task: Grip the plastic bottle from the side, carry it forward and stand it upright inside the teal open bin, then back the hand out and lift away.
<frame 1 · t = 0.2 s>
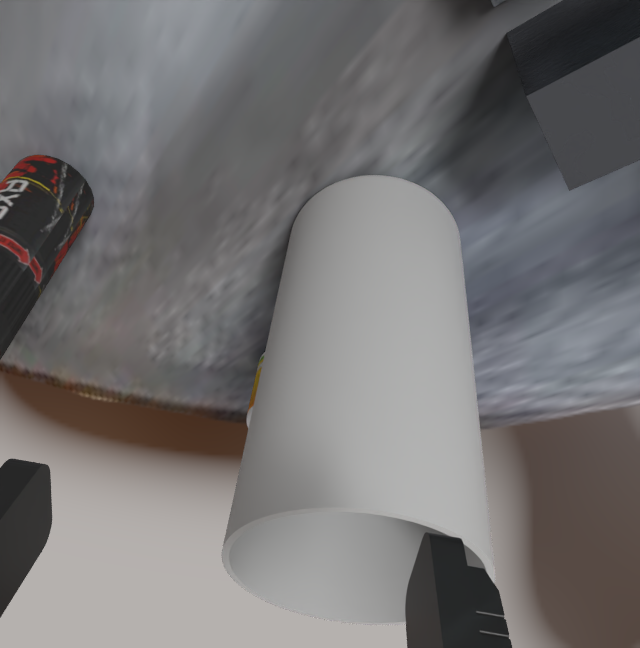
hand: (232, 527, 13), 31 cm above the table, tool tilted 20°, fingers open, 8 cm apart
deodorant: (54, 189, 45), on the table
cylinder vase: (374, 241, 46), on the table
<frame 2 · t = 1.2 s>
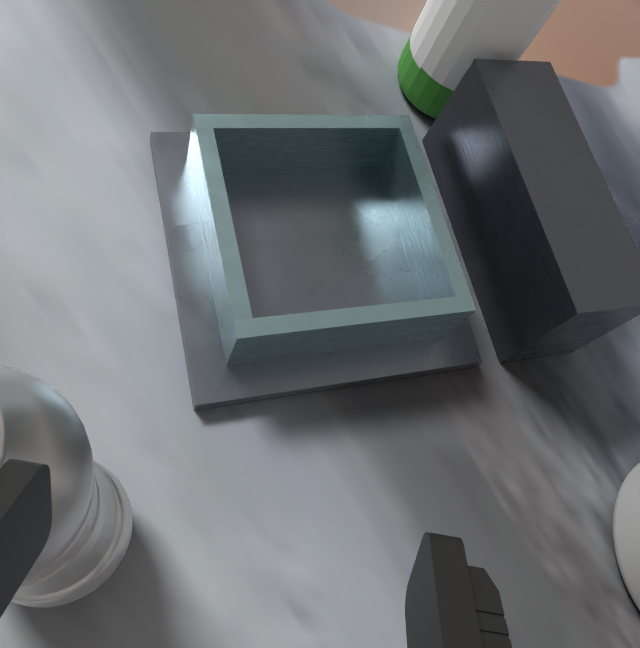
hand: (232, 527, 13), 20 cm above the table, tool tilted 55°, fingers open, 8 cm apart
plastic bottle: (64, 532, 29), on the table, touching gripper
wine bottle: (436, 91, 49), on the table
teal open bin: (312, 254, 40), on the table
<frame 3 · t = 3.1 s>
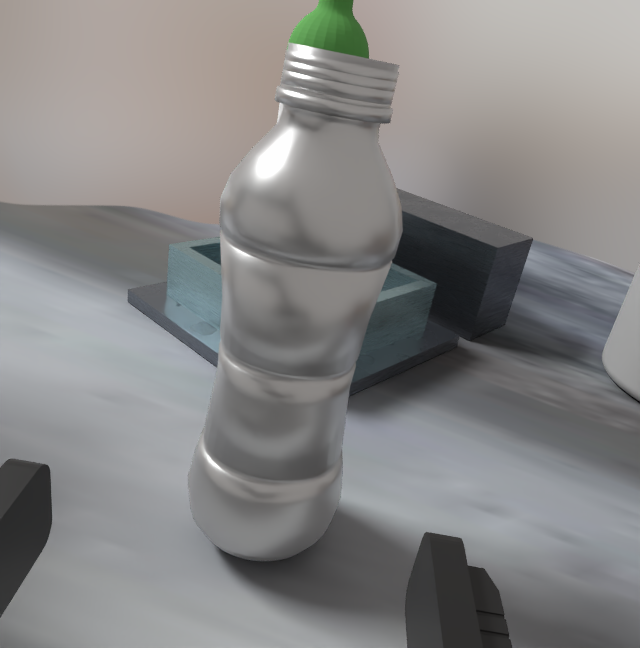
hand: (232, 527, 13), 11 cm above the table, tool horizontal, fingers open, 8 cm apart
plastic bottle: (256, 530, 28), on the table
wine bottle: (299, 243, 65), on the table
teal open bin: (295, 324, 47), on the table
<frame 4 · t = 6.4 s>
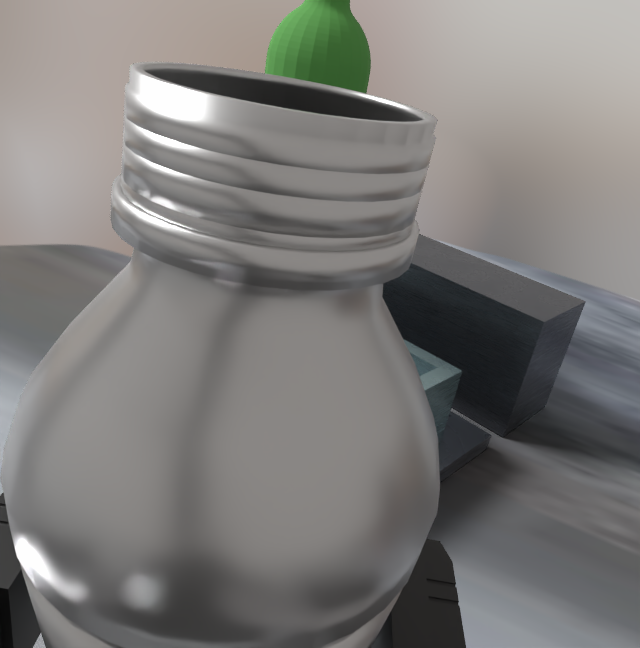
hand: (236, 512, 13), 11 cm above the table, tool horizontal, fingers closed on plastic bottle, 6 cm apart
wine bottle: (285, 290, 53), on the table
teal open bin: (273, 422, 35), on the table
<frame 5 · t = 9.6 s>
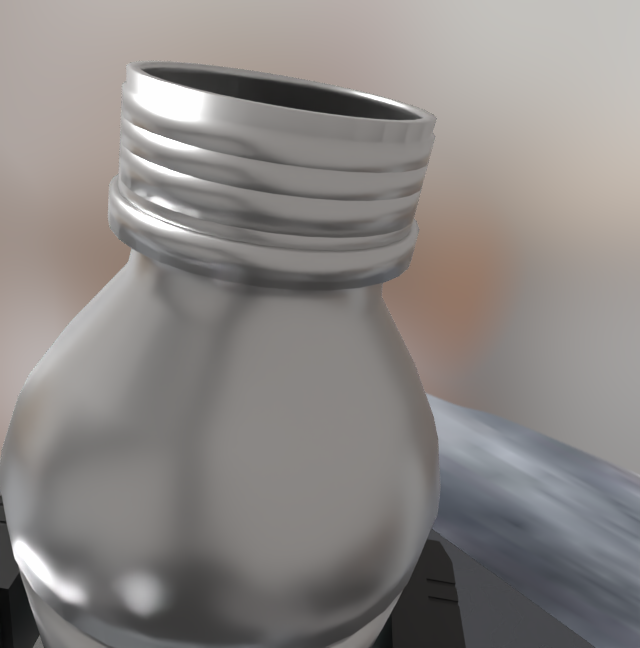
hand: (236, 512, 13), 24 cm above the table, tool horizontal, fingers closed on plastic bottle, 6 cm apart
when the fingers open (13 cm above the table, at t = 13.0 s): plastic bottle drops 1 cm, resting on teal open bin.
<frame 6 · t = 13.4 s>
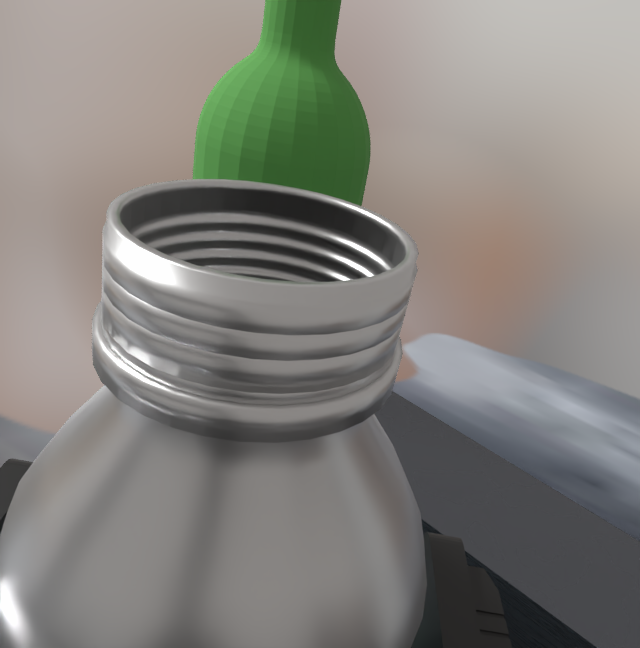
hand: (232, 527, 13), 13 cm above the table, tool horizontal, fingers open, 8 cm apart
wine bottle: (240, 472, 35), on the table
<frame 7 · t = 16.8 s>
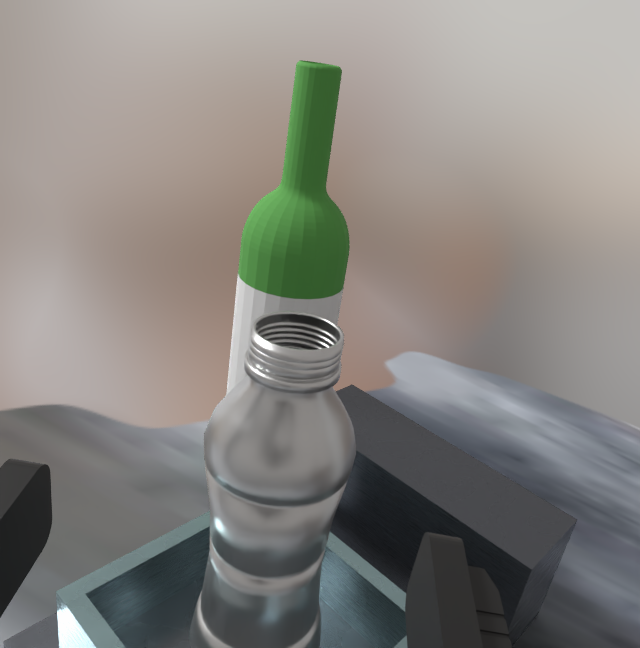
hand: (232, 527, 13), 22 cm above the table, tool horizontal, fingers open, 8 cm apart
wine bottle: (268, 451, 51), on the table
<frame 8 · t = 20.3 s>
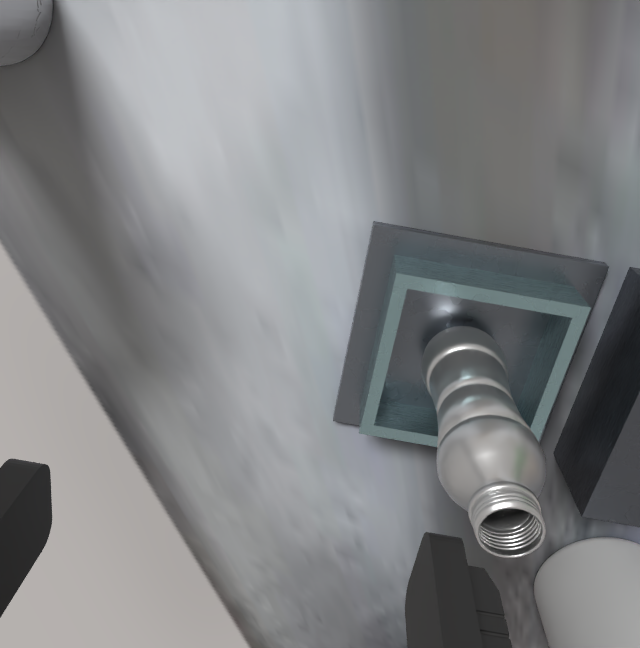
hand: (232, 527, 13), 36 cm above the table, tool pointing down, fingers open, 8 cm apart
plastic bottle: (458, 351, 50), point 1 cm above the table, touching teal open bin
teal open bin: (458, 344, 51), on the table
cylinder vase: (595, 578, 61), on the table
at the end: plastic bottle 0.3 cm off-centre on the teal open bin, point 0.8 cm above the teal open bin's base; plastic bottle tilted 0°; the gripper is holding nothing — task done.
